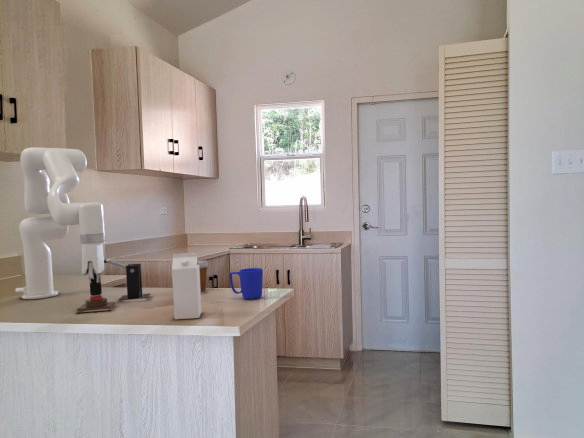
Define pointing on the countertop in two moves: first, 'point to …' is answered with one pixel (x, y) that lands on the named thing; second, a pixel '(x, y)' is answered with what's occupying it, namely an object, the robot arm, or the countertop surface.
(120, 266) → the lever
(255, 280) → the mug
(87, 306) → the button block
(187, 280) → the milk carton
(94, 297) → the button
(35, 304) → the countertop surface
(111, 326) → the countertop surface
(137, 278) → the black lever base
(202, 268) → the disposable coffee cup
